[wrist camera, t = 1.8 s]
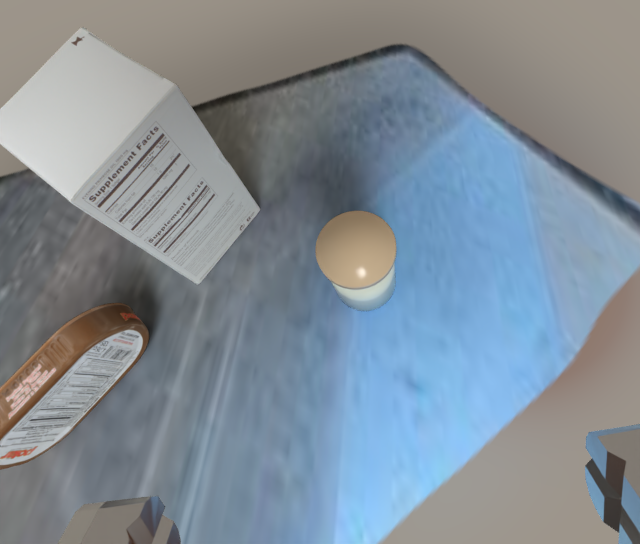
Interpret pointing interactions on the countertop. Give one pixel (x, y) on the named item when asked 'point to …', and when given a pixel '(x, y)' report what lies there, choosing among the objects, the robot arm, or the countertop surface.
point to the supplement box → (128, 154)
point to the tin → (67, 380)
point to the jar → (358, 259)
